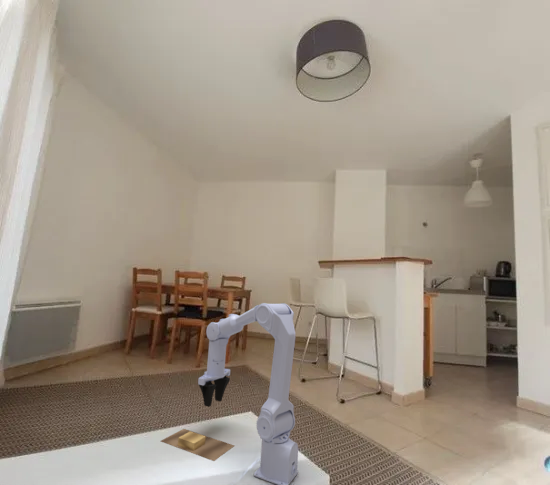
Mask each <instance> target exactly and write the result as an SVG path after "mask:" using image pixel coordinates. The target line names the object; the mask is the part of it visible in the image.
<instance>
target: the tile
mask: <svg viewBox="0 0 550 485" xmlns="http://www.w3.org/2000/svg"><path fill="white" fill-rule="evenodd" d="M189 431H190V432H188V433H186V434H184V435H183V436H181V437H179V438H178V445H179V446H181V447H184V448H187V449H190V450H192V451H194V450H196V449H198V448H199V447H201V446H202V445H204V444H205V438H206V436H207V435H204V434H201V433H198V432H195V431H192V430H189ZM191 431H192V432H191ZM194 432H195V433H194ZM197 433H198V434H197ZM200 434H201V435H200ZM203 435H204V436H203Z"/></svg>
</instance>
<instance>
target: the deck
mask: <svg viewBox="0 0 550 485" xmlns="http://www.w3.org/2000/svg"><path fill="white" fill-rule="evenodd" d="M190 431H191V432H194V433H197V434H200V435H203V436H206V438H205V444H204V445H202V446H201V447H199V448H198V449H196V450H194V451H192V450H190V449H187V448H184V447H181V446H179V445H178V438H179V437H181V436H183V435H184V434H186V433H188V432H190ZM160 442H162V443H164V444H167V445H169V446H171V447H175V448H178V449H180V450H182V451H185V452H188V453H191V454H194V455H196V456H199V457H202V458H204V459H207V460H211V461H213V462H215V461H217V460H218V459H220V457H222V456H223V455H225V454H226V453H227V452H229V451H231V449H233V448H234V447H235V446H236V445H234V444H231V443H228V442H225V441H222V440H219V439H216V438H212V437H210V436H208V435H204V434H201V433H198V432H195V431H192V430H189V429H186V428H182V429H180V430H179V431H177V432H175V433H173V434H171V435H169V436H167V437H165V438H164V439H163V438H162V439H161V440H160Z"/></svg>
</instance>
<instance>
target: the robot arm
mask: <svg viewBox="0 0 550 485" xmlns="http://www.w3.org/2000/svg"><path fill="white" fill-rule="evenodd" d="M294 315H295V313H294V311H293V310H292V308H291V307H290V306H289V305H288V304H287V303H285V302H283V303H282V302H281V303H266V302H262V303H260V304H258V305H255V306H254V307H252V308H251V309H249V310H247V311H245V312H243V313H242V314H240V315H238V314H236V313H230V314H228V317H226V318H221V319H219V321H218V322H214V321H211V322H210V323H209V324H208V325H207V327H206V337H207V339H208V341H209V342H208V353H207V363H206V364H207V365H206V366H207V367H206V371H203V372H204V373H203V375H201V376H200V377H198V380H197V383H198V384H197V385H198V386H199V388H200V390H201V394H202V398H203V404H204V406H205V407H208V408H210V407H211V406H212V404H213V403H212V402H213V396H214V400H215V401H217V402H222V400H223V396H224V394H225V391H226V388H227V386H228V384H229V382H230V380H231V378H230V377H229V376H230V375H231V369H230V368H225V366H226V356H227V355H226V352H227V346H228V343H229V339H230V338H231V336H233V335H236V334H237V333H240V332H242V330H243V329H244V327H245V326H246V325H249V324H253V323H256V322H257V323H258V325H260V327H262V328H263V329H264V330H265V331H266V332H267V333H268V334H270V335H271V336H272V337H273V339H274V345H273V346H274V347H273V355H272V362H271V372H270V380H269V386H268V387H269V388H268V397H267V399H266V401H265V402H264V403H263V405H262V406H261V409H260V412H259V415H258V418H257V419H256V430H257V434H258V436H259V437H260V440H261V449H260V450H261V451H260V466H259V468H257V469H256V471H254V473H253V476H254V477H255V478H259V479H261V480H263V481H267V482H269V483H272V484H274V485H290V484H291V482H292V481H293V480H294V479H295V478H296V476H297V475H298V473H299V470H298V463H299V461H298V460H299V459H298V458H299V445H298V443H297V442H295V441H293V440H292V439H291V438H290V436H291V432H292V430H293V429H295V428H294V427H295V426H296V418H295V412H294V410H295V405H294V404H293V403H292V402H291V401H290V400H289V399H290V397H289V396H290V389H291V381H292V380H291V379H292V371H293V370H292V369H293V361H294V353H295V344H296V335H297V334H296V329H295V326H294V325H295V324H294V317H295V316H294Z"/></svg>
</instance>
